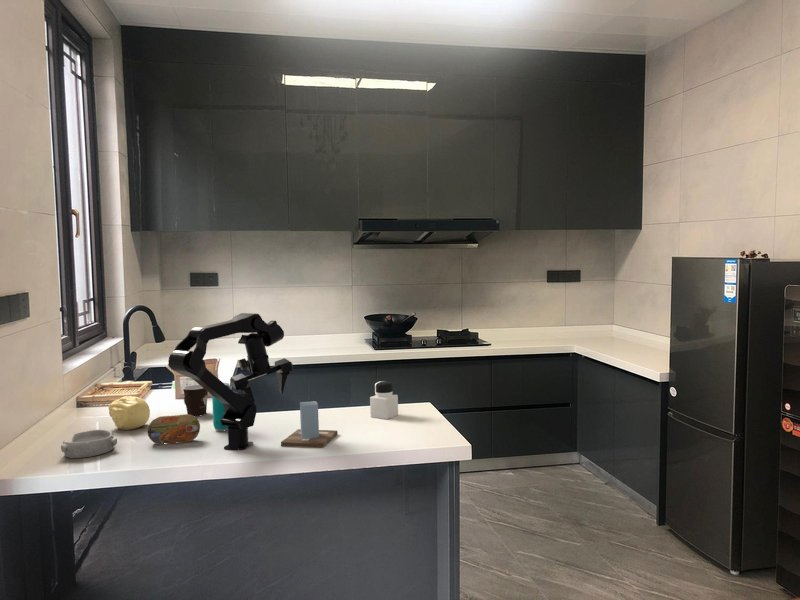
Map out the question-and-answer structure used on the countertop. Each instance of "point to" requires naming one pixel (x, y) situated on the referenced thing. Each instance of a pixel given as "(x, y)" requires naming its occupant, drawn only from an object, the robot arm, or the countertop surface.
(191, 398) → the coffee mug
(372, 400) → the medicine bottle
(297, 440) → the board
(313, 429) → the slate-blue block
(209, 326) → the robot arm
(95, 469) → the countertop surface
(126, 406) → the sculpture
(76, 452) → the dish
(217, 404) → the beverage can
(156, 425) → the tin
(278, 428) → the countertop surface
